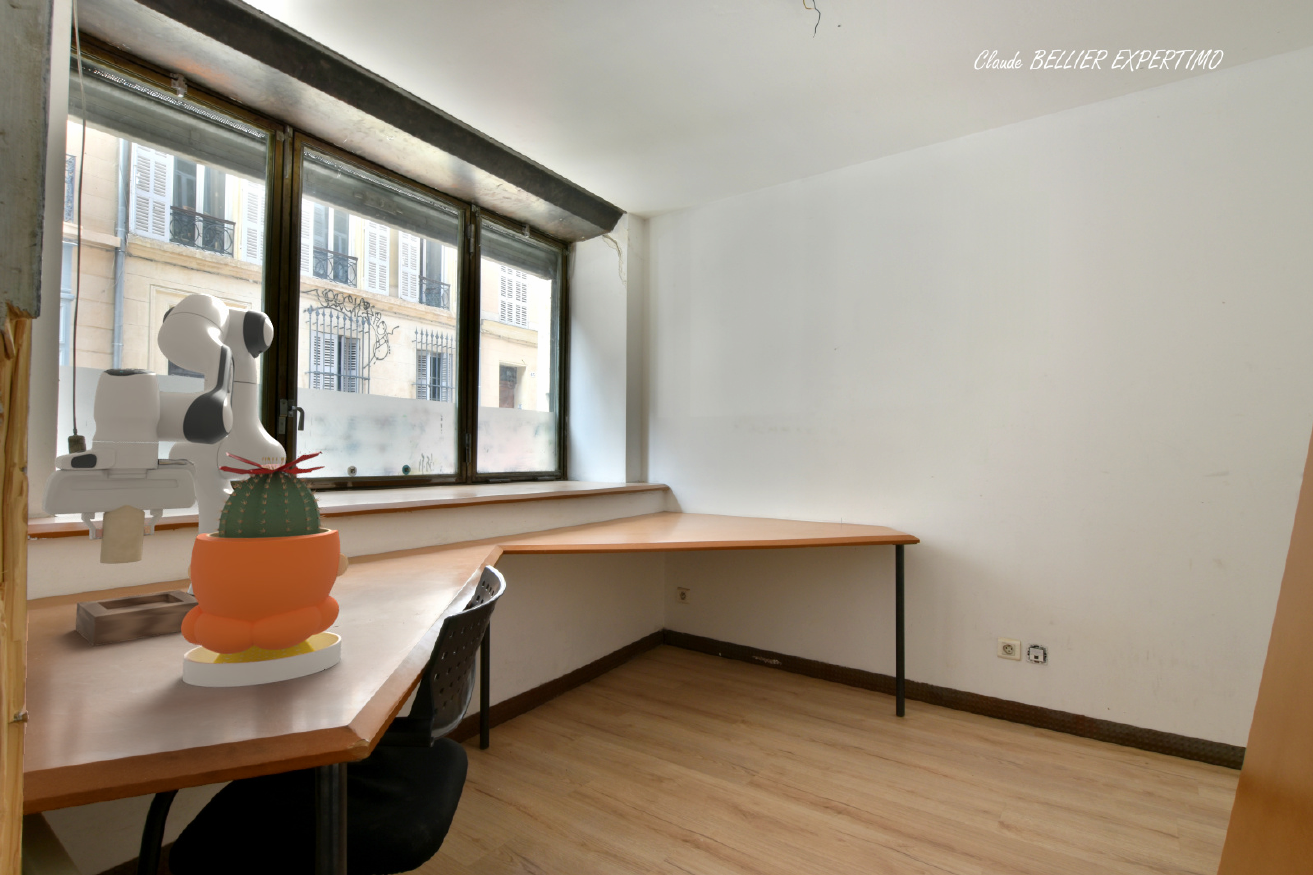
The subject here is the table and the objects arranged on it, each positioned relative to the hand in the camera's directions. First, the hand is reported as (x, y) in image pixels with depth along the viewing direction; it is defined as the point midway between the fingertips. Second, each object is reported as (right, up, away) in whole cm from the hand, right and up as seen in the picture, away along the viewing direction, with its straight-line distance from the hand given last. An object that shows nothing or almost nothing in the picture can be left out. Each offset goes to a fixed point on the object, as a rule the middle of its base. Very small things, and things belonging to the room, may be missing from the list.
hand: (122, 537), depth 105 cm
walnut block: (-7, -20, +12) cm, 24 cm away
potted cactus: (+32, -20, -11) cm, 39 cm away
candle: (0, -4, 0) cm, 4 cm away
